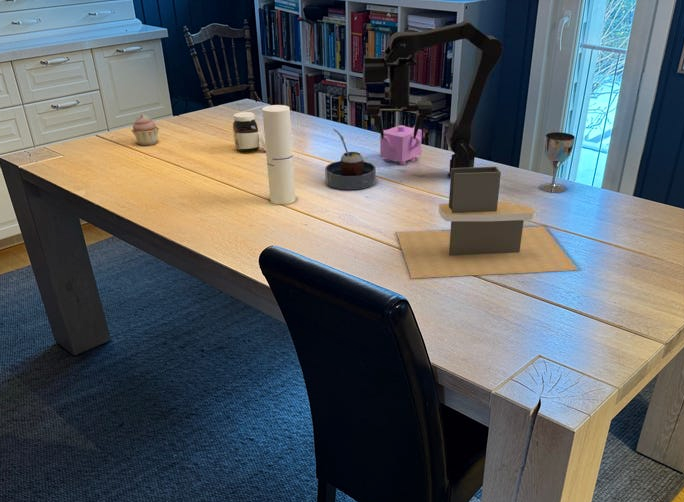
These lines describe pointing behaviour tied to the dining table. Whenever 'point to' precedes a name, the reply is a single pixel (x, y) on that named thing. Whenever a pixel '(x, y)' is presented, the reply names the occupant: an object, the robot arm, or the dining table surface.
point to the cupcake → (145, 131)
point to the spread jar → (247, 133)
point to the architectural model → (481, 234)
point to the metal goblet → (557, 155)
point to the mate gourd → (350, 161)
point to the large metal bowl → (350, 177)
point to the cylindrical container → (279, 153)
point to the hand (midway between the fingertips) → (398, 138)
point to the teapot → (400, 144)
